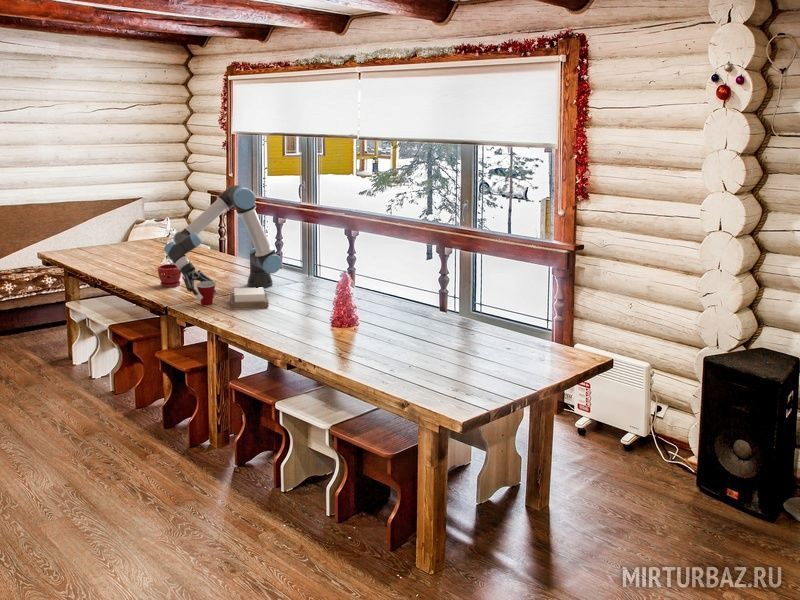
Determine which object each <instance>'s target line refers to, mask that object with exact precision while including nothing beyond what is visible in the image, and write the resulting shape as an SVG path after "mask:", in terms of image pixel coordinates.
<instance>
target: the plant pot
mask: <svg viewBox="0 0 800 600" xmlns="http://www.w3.org/2000/svg"><path fill="white" fill-rule="evenodd" d="M157 273H158V278H159V280H160V284H159V285H161V287H164V288H176V287H178V286H180V285H181V281H180V279H181V277H182V276H181V274H182V273H181V272H180V270H179V269H178V268H177V266H176V265H175V264H174V263H168V264H162V265H159V266H158V267H157ZM175 286H176V287H175Z"/></svg>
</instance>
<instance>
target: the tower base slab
mask: <svg viewBox="0 0 800 600" xmlns="http://www.w3.org/2000/svg"><path fill="white" fill-rule="evenodd" d="M264 294H265V301H259V302H235V298H234V293H233V294H230V299H229V300H230V310H236V309H235V308H238V309H237V310H240V309H239V308H250V309H268V308H267V307H269V298H268V294H267V293H265V292H264ZM263 307H264V308H263Z"/></svg>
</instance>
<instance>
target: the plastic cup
mask: <svg viewBox="0 0 800 600" xmlns="http://www.w3.org/2000/svg"><path fill="white" fill-rule="evenodd" d="M216 285H217V283H216V282H215V281H213V282H212V281H203V282H201V281H199V282H197V283H195V286H196V289H197V290H198V291H199V293H200V294H201V295H202V296H203V298H202V299H201V300H200V304H202V305H201V306H204V305H209V306H212V305H213V300H214V296H215V295H214V289H216Z"/></svg>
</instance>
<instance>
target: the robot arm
mask: <svg viewBox="0 0 800 600" xmlns="http://www.w3.org/2000/svg"><path fill="white" fill-rule="evenodd" d="M233 207H234V209H235V212H236V213H237V214H238V215H239V216H241V219H242V221H243V223H244V225H245V226H244V227H245V228H246V229H247V232H248V235H249V237H250V240H251V242H252V244H253V246H254V247H253V248H250V249H249V275H248V278H247V281H246V282H247V284H246V285H247V287H249V288H256V287H263V288H268V287H269V286H270V287H271V286H273V278H272V276H271V274H272V275H273V274H276V273H278V271H279V270H281V268H282V265H283V261H282V258H281V257H280V256H279V255H278V254H277V253H276V250H275V248H274V247H273V246H271V245H270V242H269V241H268V237H267V234H266V233H265V231H264V228H263V226H262V225H263V224H262V223H261V221H260V218H259V216H258V214H257V213H258V212H256V208H257V203H256V195H255V193H254V192H253V191H252V190H251V189H250V188H248V187H246V186H240V185H231V186H228V188H226V189H225V190H223V192H221V193H220V194H219V195H218V196H217V197H216V200H214V202H213V203H212V204H210V206H209V207H207V208H206V209H205V210H204V211H202V212H201V214H199V215H198V216H197V217H196V218H194V220H193V221H191V222H190V223H189V224H188V225H187V226H186V227H185V228H184V229H182V230H181V231H178V232H176V233H175V234H174V235H173V241H170V242H168V243H167V244H165V246H164V248H163V251H164V252H165V254H166V255H167V257H168V258H169V259H170V261H172V264H175V265H176V266H177V268H178V269H179V270H180V272H181V274H182V276H181V277H182V279H183V281H184V284H185V288H186V291H188V292H189V293H191V292H192V294H193V295H194V296H195V297H196V298H197V299H198V301H200V302H201V299H202V298H203V296H202V295H201V294H200V293H199V291H198V288H197V287H195V281H199V282H203V281H212V282H214V281H213V280H212V278H210V277H209V276H207V275H206V274H205V273H203V272H202V271H201V270H200V269H198V270H196V267H195V266H194V264H193V263H191V260H190V259H189V258H188V257H187V254H188V253H190V252H191V251H193V250H195V249H196V248H198V247H199V246H200V245H201V244H202V241H201V238H200V237H199V234H200V233H202V232H203V231H204V230H205V229H206V228H207V227H208V226H209V225H211V224H212V223H213V222H214V221H215V220H217V218H219V216H221V215H222V214H223V213H224V212H225V211H228V210H230V209H232V208H233ZM270 287H269V288H270ZM218 293H219V292H218V290H217V288H215V289H214V295H213V296H216V295H217V294H218Z"/></svg>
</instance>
